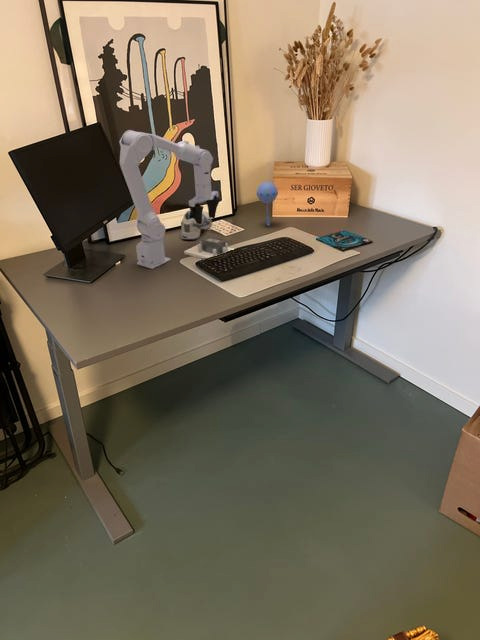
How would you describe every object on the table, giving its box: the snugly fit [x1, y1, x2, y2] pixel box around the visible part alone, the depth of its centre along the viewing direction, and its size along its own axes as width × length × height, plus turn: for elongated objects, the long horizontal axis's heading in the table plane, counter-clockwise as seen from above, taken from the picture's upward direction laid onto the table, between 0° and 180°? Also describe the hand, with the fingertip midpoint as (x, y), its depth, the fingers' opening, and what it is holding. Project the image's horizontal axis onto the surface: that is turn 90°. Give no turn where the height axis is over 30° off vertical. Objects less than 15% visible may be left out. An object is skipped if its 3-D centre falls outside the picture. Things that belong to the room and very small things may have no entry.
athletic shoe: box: [180, 209, 212, 241], centre depth 197 cm, size 10×23×12 cm, turn 173°
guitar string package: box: [315, 229, 374, 253], centre depth 184 cm, size 15×1×15 cm
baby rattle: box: [256, 181, 279, 227], centre depth 198 cm, size 9×9×18 cm
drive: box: [200, 236, 226, 255], centre depth 176 cm, size 8×4×4 cm, turn 54°
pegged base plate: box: [183, 240, 235, 259], centre depth 178 cm, size 12×16×4 cm
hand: (205, 220), depth 180 cm, fingers open, 7 cm apart
